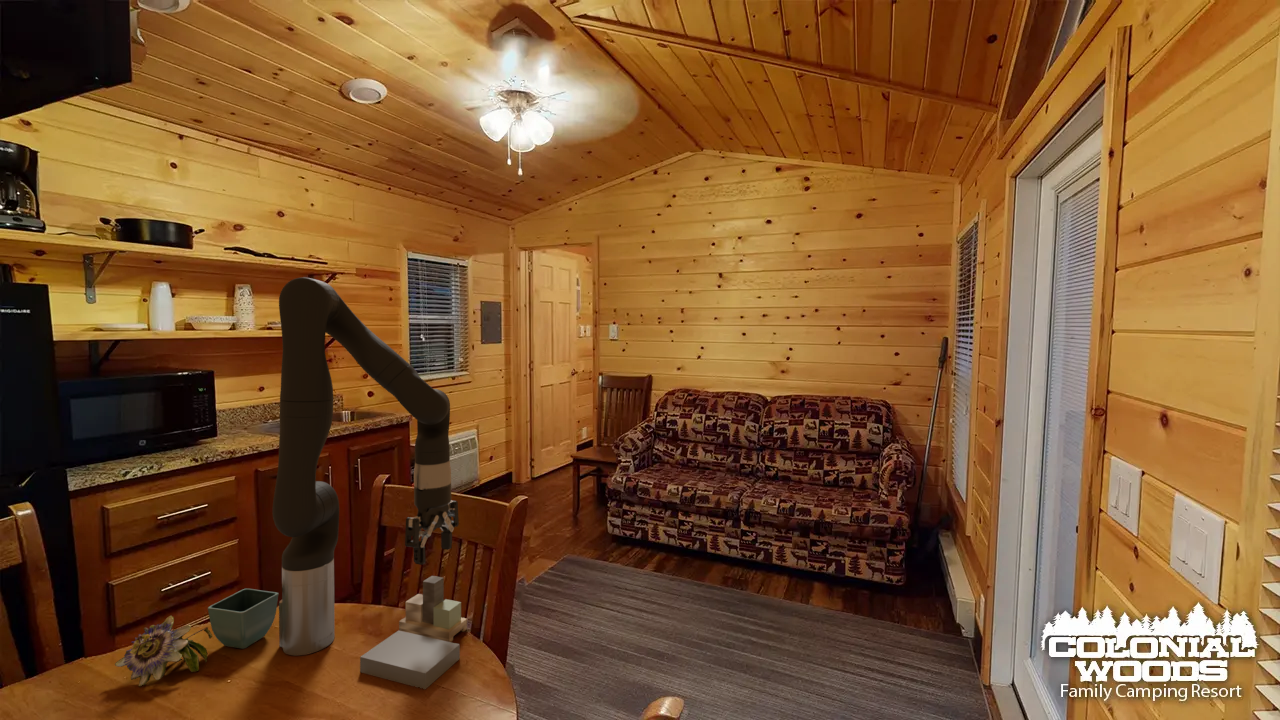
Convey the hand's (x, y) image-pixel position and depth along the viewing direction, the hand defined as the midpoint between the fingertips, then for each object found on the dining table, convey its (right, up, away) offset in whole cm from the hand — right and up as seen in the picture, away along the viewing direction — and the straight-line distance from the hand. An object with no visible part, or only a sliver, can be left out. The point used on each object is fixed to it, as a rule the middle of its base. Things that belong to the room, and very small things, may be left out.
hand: (433, 556), depth 119 cm
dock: (0, -17, -12) cm, 21 cm away
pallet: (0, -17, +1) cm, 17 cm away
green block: (+3, -14, 0) cm, 15 cm away
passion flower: (-45, -17, -15) cm, 50 cm away
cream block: (-4, -14, +2) cm, 15 cm away
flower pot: (-37, -16, -5) cm, 41 cm away
